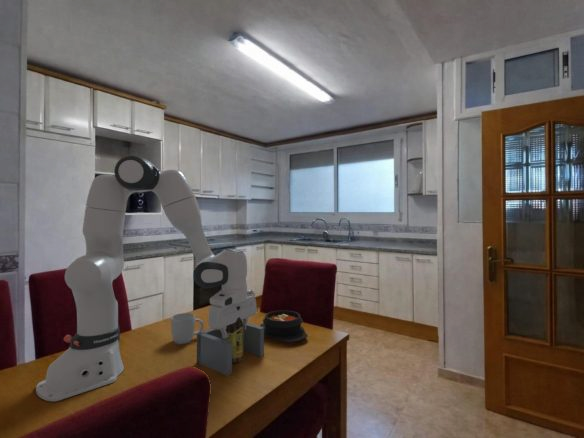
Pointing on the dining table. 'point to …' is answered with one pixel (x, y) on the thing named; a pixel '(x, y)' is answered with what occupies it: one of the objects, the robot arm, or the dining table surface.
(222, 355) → the folding screen
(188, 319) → the mug
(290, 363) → the dining table surface
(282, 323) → the casserole
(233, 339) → the sauce bottle
